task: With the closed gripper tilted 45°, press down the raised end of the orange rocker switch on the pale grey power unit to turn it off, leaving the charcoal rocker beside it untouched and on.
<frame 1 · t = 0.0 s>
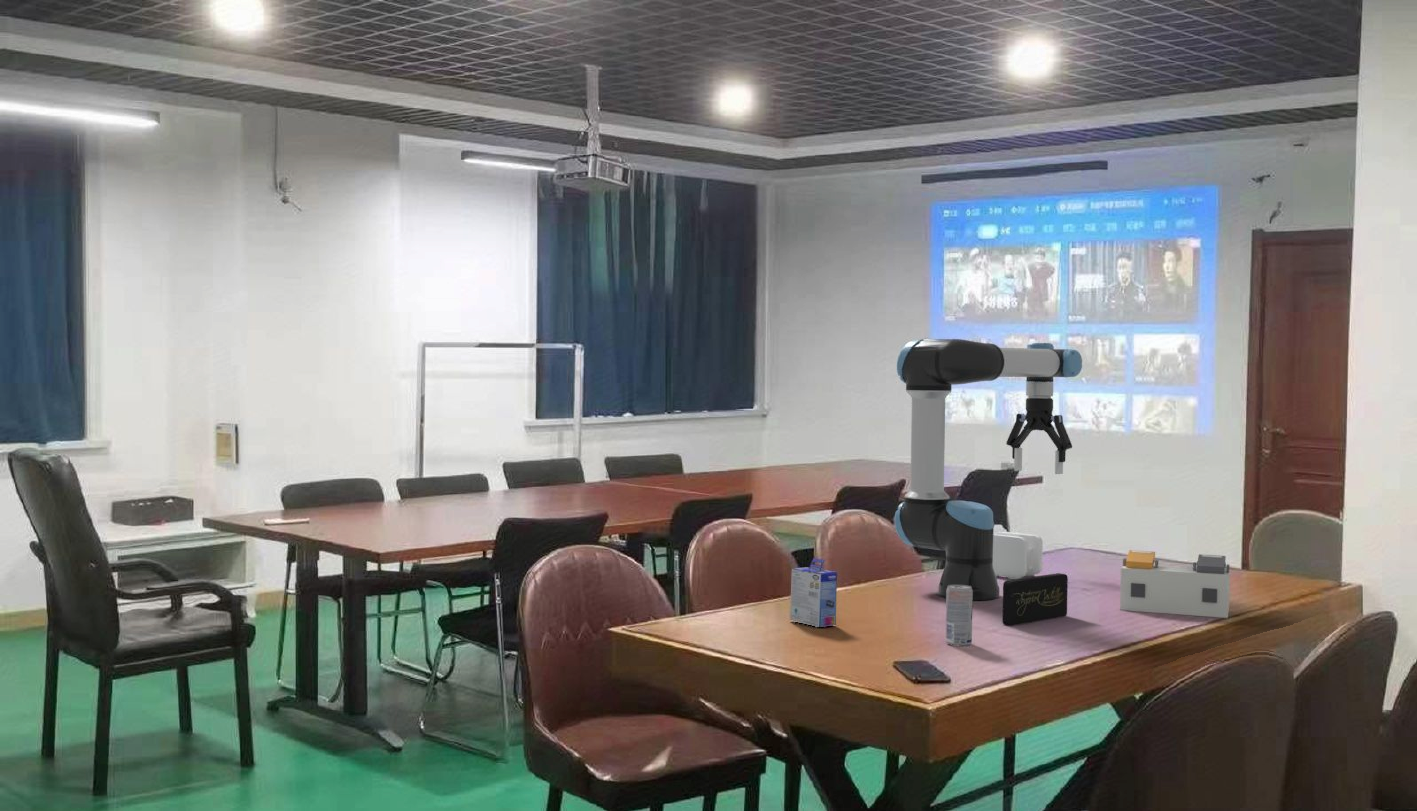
hand: (1038, 472, 384), 28 cm above the table, tool pointing down, fingers open, 13 cm apart
rocker orange: (1140, 559, 327), point 12 cm above the table, hinge at 12.0°
power unit: (1174, 610, 324), on the table
cable organizer: (1009, 576, 376), on the table
rocker charcoal: (1211, 563, 321), point 12 cm above the table, hinge at 12.0°
ink cartridge box: (813, 625, 302), on the table
energy drink: (958, 644, 283), on the table
nameplate: (1035, 621, 310), on the table
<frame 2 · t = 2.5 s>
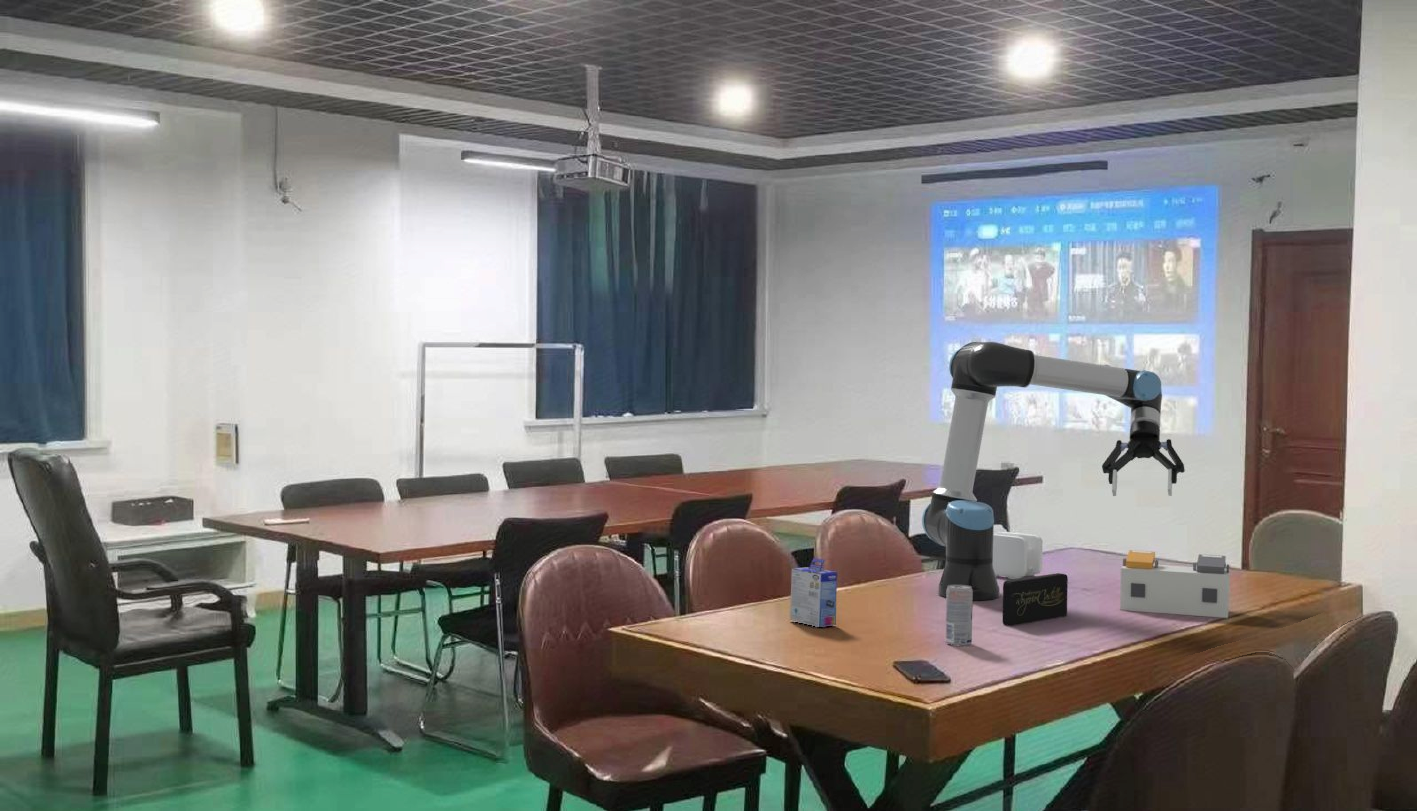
hand: (1141, 492, 346), 26 cm above the table, tool tilted 40°, fingers open, 13 cm apart
nothing on the table moved.
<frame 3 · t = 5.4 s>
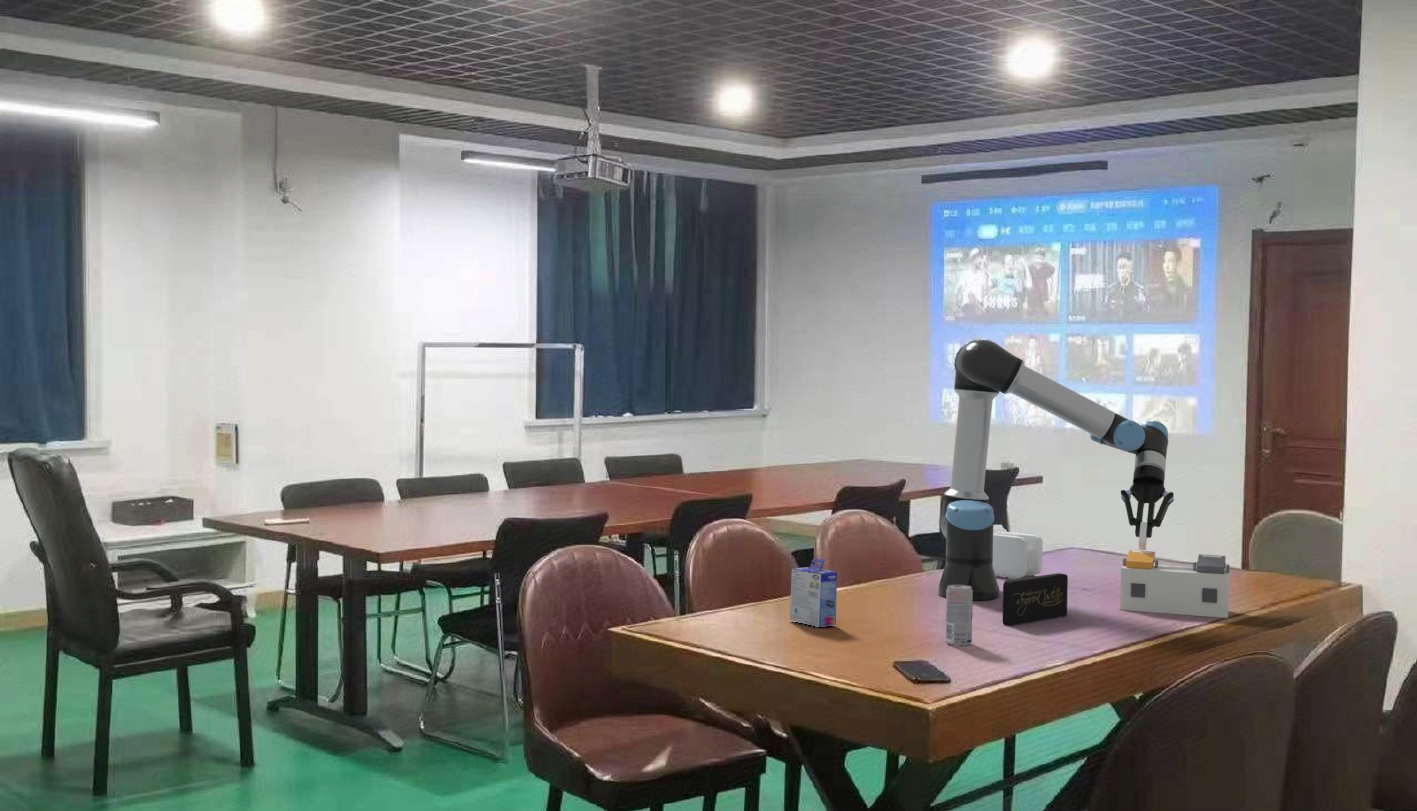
hand: (1142, 546, 330), 15 cm above the table, tool tilted 45°, fingers closed
rocker orange: (1140, 559, 327), point 12 cm above the table, hinge at 12.0°, touching gripper
everything else where it was.
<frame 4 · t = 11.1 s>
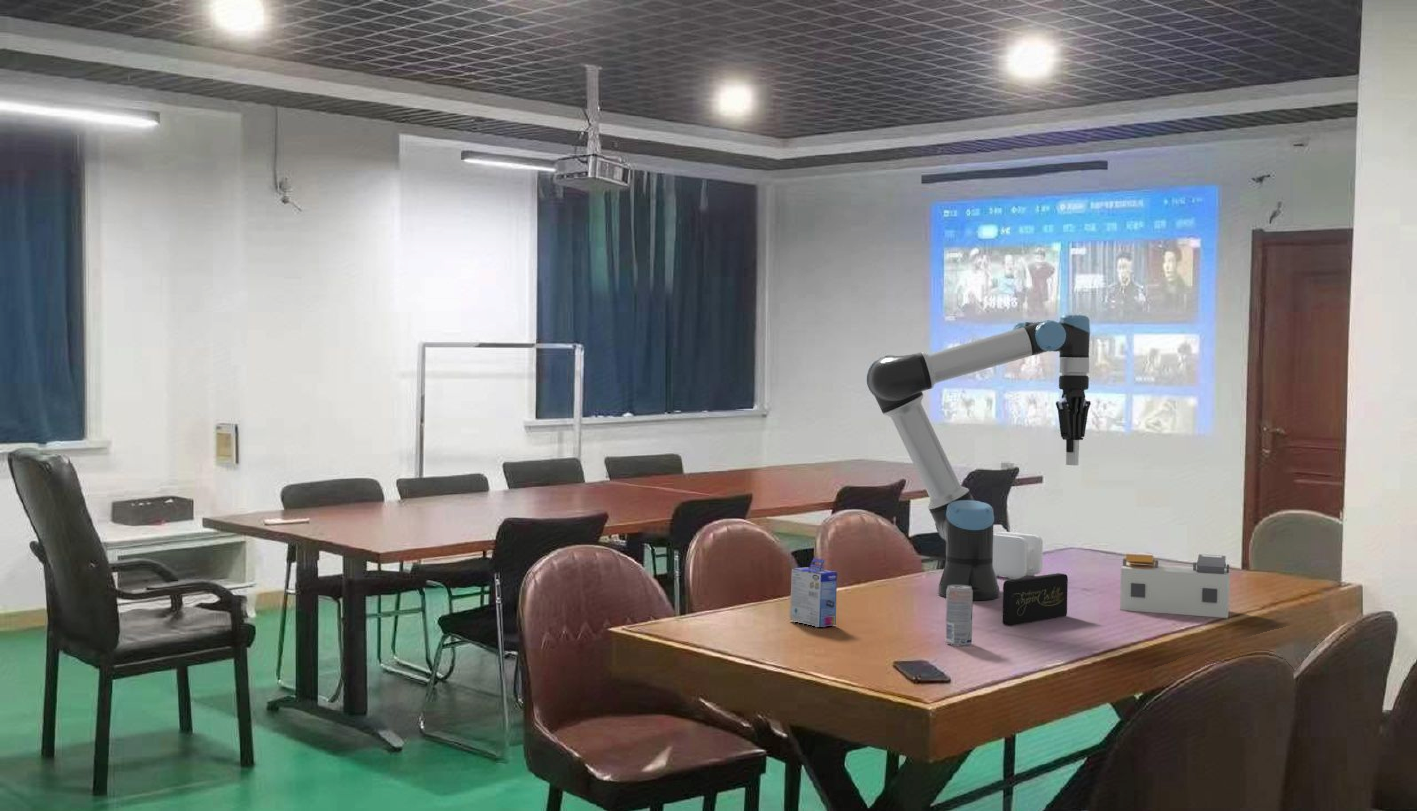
hand: (1072, 464, 354), 32 cm above the table, tool pointing down, fingers closed
rocker orange: (1140, 559, 327), point 12 cm above the table, hinge at -12.5°
everything else where it was.
at the end: rocker orange at -12° (first picture: +12°); rocker charcoal at +12° (first picture: +12°) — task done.
